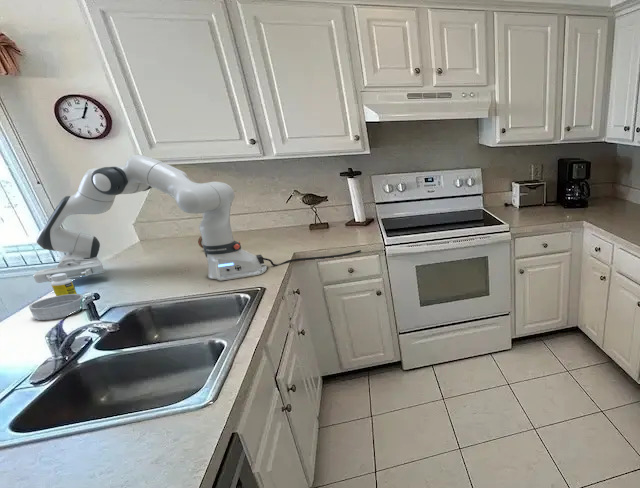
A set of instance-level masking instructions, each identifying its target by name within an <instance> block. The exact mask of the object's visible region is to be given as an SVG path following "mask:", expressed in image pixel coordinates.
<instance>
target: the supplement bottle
mask: <svg viewBox="0 0 640 488" xmlns="http://www.w3.org/2000/svg"><path fill="white" fill-rule="evenodd" d="M51 278H52V280H54V281H53V282H50V284H51V287H52V289H53V292H54V294H55V296H60V295H68V294H78V293H77V291H76V288H75V285H74V283H73V281H72V279H67V275H66V273H60V274H55V275H52V276H51Z"/></svg>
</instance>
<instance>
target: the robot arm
mask: <svg viewBox="0 0 640 488" xmlns="http://www.w3.org/2000/svg"><path fill="white" fill-rule="evenodd" d="M152 188H153V189H155V190H158V191H159V192H162V193H163V194H164V193H165V194H166V195H168V196H169V197H171V198H173V199H174V200H175V203H176V206H177V207H178V208H179V209H180V210H181V211H183V212H184V213H186V214H202V219H201V221H200V223H199V225H198V229H199V233H200V236H201V237H202V240H203V244H204V245H203V248H202V250H203V253H204V255H205V258H206V259H207V260H206V261H207V266H208V267H207V268H208V274H207V277H208V279H211V280H218V281H220V282H221V281H228V280H234V279H242V278H248V277H254V276H260V275H262V274H264V273H266V271H267V269H268V266H267V265H266V264H265V261H268V262H270V264H271V265H272V266H274V267H278V266H281V265H284V264H285V265H286V264H287V263H289V262H295V261H296V262H297V261H305V260H306V261H307V260H319V259H328V258H329V259H330V258H337V257H344V256H349V255H353V254H356V253H361V252H362V250H361V249H359V250H355V251H351V252H348V253H341V254H340V253H339V254H334V255H324V256H312V257H311V256H310V257H299V258H291V259H287V260H285V261H284V262H281V263H278V264H277V263H274V262H273V260H272V259H270V258H266V257H264V256H263V255H262V254H254V253H252V252H249V251H247V250H245V249H243V248H242V245H241V241H240V240H239V241H237V240H235V239H234V235H233V231H232V227H231V208H232V204H233V202H234V200H235V191H234V189H233V188H232V186H231V185H229V184H228V183H226V182H222V181H210V182H209V181H208V182H203V183H202V182H201V183H199V182H194V181H193V180H191V179H189V176H188V175H187V173H186V172H185V171H183V170H182V169H179V168H176V167H174V166H172V165H170V164H168V163H166V162H164V161H162V160H159V159H157V158H154V157H150V156H148V155H144V154H133V155H130V157H129V158H127V161H126V163H125V165H113V166H103V167H92V168H89V169H87V170H86V171H85V173H84V175H82V178H81V180H80V182H79V184H78V189H77V191H75V193H73V194H72V195H66V196H64V197H63V198H62V199H61V200H60V202H59V203H58V205H56V206H55V209H54V210H53V212H52V214H51V215H50V217H49V218H48V219H47V222H46V223H45V225H44V226H43V227H42V228H41V229H40V230H39V231H38V233H37V235H36V243H37V244H38V246H40V248H42V249H43V250H47V251H54V252H60V253H65V255H64V256H62V258H61V259H60V261H59V263H58V264H57V265H56V267H51V268H46V269H41V270H37V271H36V272H35V273H34V274H33V275H32V276H33V279H34V281H35V282H36V283H38V284H42V283H43V284H44V283H52V282H53V281H54V280H52V278H51V276H52V275H55V274H60V273H66V275H67V279H70V280H79V279H82V278H85V277H88V276H92V275H98V274H103V273H105V267H104V265H103V262H102V261H101V260H99V258H98V254H99V251H100V248H101V243H100V241H99V240H98V238H97V237H96V236H94V235H91V234H86V233H82V232H77V231H74V230H69V229H65V228H62V227H61V226H62V225H63V223H64V221H65V220H66V218H67V217H68V216H72V215H99V214H104V213H106V212H108V211H110V210H111V208H112V206H113V204H114V203H115V199H116V196H119V195H130V194H131V195H132V194H136V193H137V194H138V193H139V192H146V191H148V190H151V189H152ZM80 276H82V277H80ZM79 277H80V278H79Z"/></svg>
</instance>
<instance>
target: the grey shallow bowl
mask: <svg viewBox="0 0 640 488" xmlns="http://www.w3.org/2000/svg"><path fill="white" fill-rule="evenodd" d="M82 297H84V295H83V294H82V293H81V294H80V293H77V294H68V295H60V296H56V295H55V296H51V297H48V298H44V299H39V300H37V301H35V302H33V303H31V304H29V306H28V309H29V310H30V313H31V315H32V317H33V319H35V320H39V321H50V320H52V321H53V320H58V319H63V318H67V317H66V316H67V315H69V314H70V313H72V312H74V311H77V310H79V309H80V301H81V299H82Z"/></svg>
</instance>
